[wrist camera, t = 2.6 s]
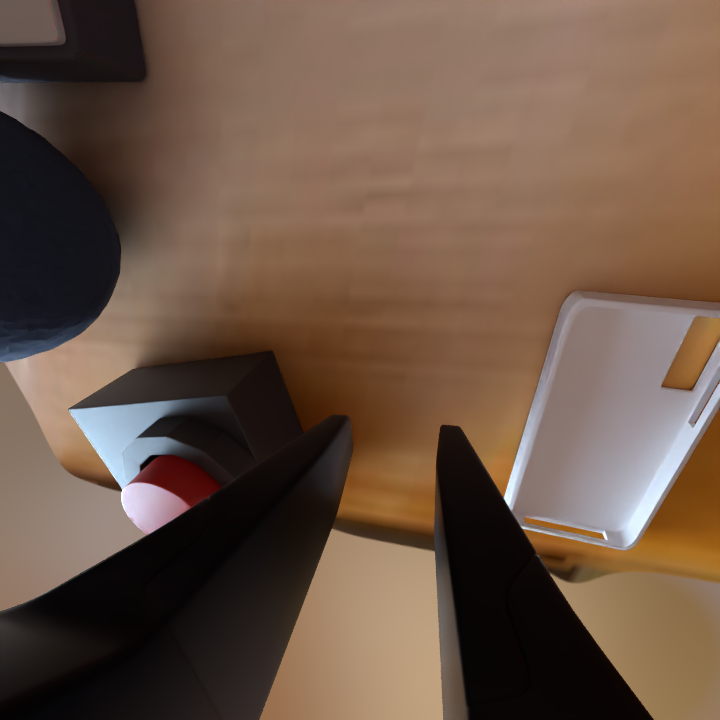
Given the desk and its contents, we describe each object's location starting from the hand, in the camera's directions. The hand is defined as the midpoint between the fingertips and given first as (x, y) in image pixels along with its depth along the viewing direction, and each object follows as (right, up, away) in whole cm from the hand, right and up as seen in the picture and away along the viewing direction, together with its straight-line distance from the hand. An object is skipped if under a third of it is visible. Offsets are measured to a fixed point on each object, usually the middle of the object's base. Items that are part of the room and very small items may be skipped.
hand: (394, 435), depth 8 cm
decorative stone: (-18, +10, +14) cm, 25 cm away
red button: (-11, -6, +12) cm, 17 cm away
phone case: (+12, -2, +12) cm, 17 cm away
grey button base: (-11, -3, +19) cm, 22 cm away
